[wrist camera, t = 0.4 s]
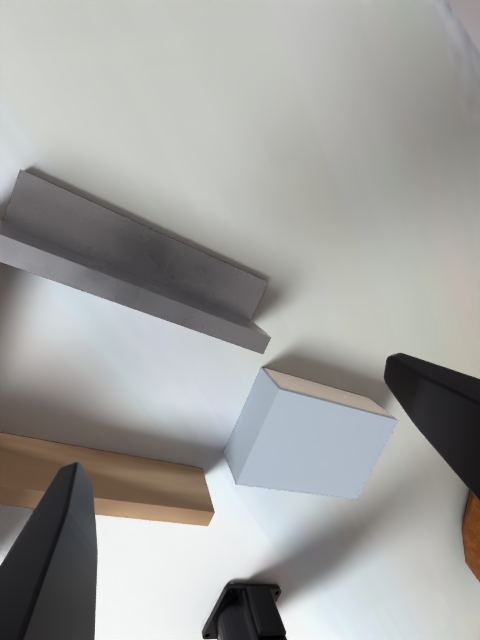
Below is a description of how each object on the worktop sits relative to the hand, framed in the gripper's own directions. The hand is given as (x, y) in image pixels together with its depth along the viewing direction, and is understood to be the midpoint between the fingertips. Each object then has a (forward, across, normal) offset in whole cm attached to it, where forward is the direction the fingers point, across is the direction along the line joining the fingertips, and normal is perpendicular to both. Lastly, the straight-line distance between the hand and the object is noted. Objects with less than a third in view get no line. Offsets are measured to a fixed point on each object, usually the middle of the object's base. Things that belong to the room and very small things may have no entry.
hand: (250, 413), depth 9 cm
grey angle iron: (+15, +2, +1) cm, 15 cm away
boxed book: (+12, -7, +17) cm, 22 cm away
